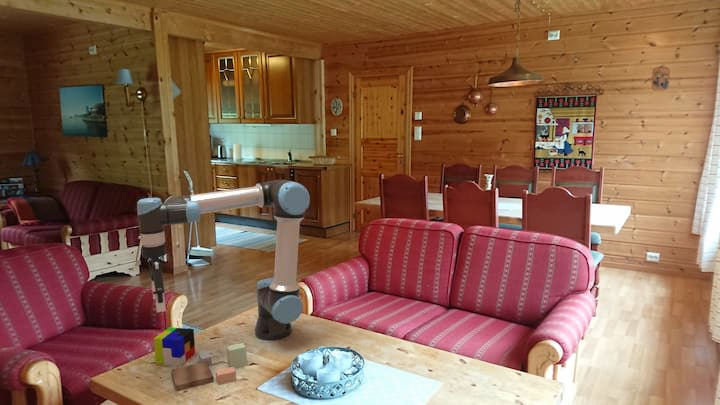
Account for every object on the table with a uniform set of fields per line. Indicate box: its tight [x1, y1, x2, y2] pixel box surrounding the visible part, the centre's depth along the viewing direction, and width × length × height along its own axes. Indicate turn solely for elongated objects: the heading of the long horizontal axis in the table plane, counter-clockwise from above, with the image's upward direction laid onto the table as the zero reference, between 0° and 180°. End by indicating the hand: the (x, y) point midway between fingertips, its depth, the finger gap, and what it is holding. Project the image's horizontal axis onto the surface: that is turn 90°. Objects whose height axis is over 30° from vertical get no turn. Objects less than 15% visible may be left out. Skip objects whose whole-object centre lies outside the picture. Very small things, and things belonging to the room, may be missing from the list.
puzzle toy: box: [153, 326, 196, 367], centre depth 179 cm, size 10×10×10 cm
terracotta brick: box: [215, 367, 237, 386], centre depth 164 cm, size 6×4×4 cm, turn 117°
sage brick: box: [226, 342, 248, 369], centre depth 174 cm, size 6×4×7 cm, turn 118°
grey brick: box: [197, 349, 213, 367], centre depth 176 cm, size 6×4×4 cm, turn 28°
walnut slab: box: [170, 361, 214, 392], centre depth 165 cm, size 12×12×2 cm
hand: (159, 304), depth 164 cm, fingers open, 13 cm apart
